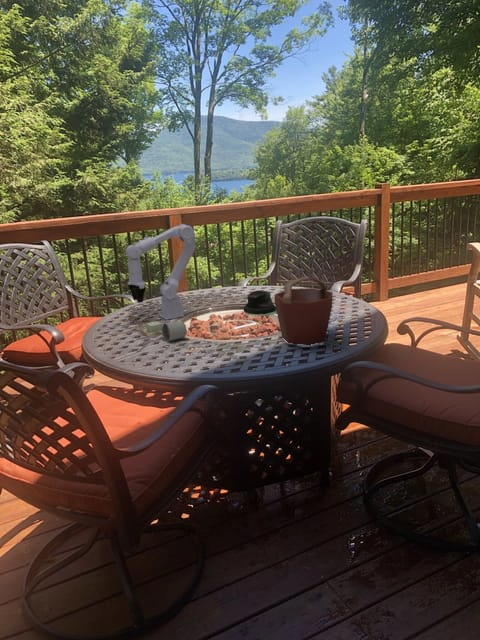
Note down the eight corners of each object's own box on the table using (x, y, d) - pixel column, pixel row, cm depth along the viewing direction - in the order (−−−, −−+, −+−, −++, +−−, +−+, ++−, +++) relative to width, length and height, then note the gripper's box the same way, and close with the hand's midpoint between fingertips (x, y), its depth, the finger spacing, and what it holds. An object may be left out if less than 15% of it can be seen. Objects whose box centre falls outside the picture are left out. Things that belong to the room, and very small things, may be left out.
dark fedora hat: (244, 304, 247) (243, 286, 244) (283, 305, 243) (282, 287, 240) (235, 315, 229) (234, 296, 226) (277, 317, 224) (277, 297, 222)
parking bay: (159, 325, 217) (159, 323, 216) (169, 332, 207) (169, 329, 207) (137, 330, 212) (137, 327, 211) (147, 337, 202) (147, 334, 202)
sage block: (157, 329, 212) (157, 321, 211) (162, 332, 208) (161, 323, 206) (147, 332, 209) (146, 323, 208) (151, 335, 205) (151, 326, 204)
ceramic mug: (188, 339, 198) (187, 321, 196) (170, 343, 193) (168, 325, 191) (176, 333, 206) (174, 316, 204) (158, 337, 202) (157, 320, 200)
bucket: (292, 354, 177) (292, 288, 170) (262, 338, 196) (260, 277, 188) (345, 342, 187) (347, 279, 180) (312, 327, 206) (312, 269, 199)
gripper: (121, 270, 223) (124, 299, 227) (132, 275, 211) (135, 305, 215) (136, 268, 226) (139, 296, 230) (147, 273, 214) (150, 303, 218)
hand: (138, 301), depth 223 cm, fingers open, 5 cm apart
